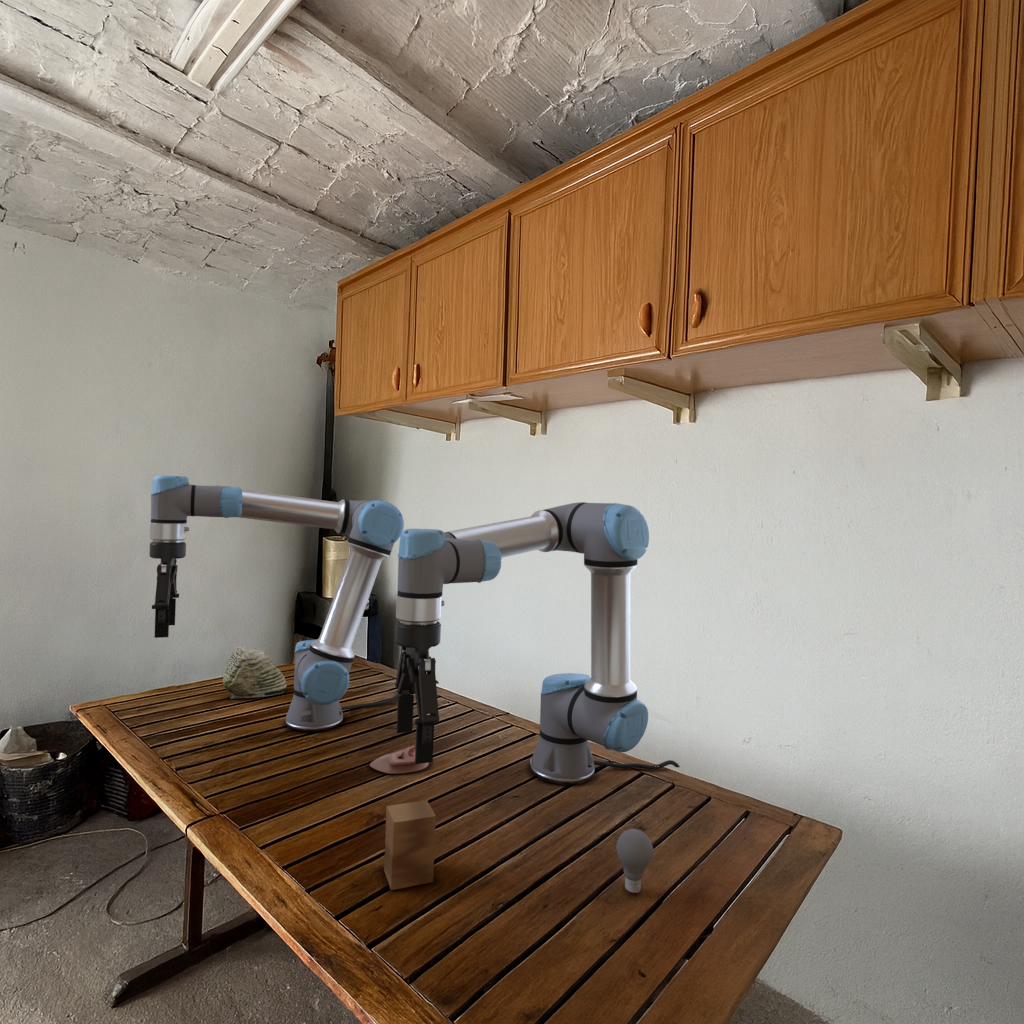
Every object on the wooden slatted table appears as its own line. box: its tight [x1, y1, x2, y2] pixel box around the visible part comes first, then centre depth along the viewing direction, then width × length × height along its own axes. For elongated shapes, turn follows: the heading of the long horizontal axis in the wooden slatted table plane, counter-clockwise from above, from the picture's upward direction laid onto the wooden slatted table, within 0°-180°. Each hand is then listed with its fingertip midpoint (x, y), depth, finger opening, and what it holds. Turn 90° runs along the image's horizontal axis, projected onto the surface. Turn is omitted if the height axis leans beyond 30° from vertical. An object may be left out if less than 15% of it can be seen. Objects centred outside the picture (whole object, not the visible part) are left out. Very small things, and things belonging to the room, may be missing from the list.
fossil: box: [222, 646, 288, 699], centre depth 198 cm, size 9×18×15 cm, turn 132°
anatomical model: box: [369, 744, 430, 775], centre depth 151 cm, size 13×4×12 cm
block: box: [383, 799, 437, 891], centre depth 107 cm, size 7×6×11 cm
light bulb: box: [615, 828, 654, 894], centre depth 106 cm, size 6×6×10 cm
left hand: (165, 631), depth 149 cm, fingers open, 13 cm apart
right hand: (413, 746), depth 107 cm, fingers open, 13 cm apart
